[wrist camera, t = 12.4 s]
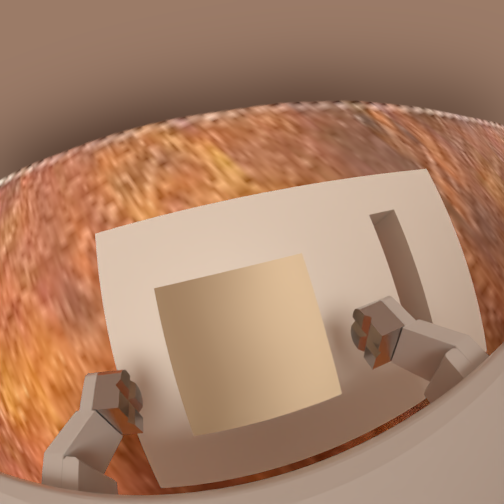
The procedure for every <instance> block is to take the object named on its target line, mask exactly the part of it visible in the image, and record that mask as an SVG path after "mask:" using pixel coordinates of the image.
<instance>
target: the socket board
mask: <svg viewBox="0 0 504 504" xmlns="http://www.w3.org/2000/svg"><path fill="white" fill-rule="evenodd" d="M95 237H96V250H97V261H98V271H99V279H100V287H101V294H102V301H103V307H104V313H105V318H106V324H107V329H108V334H109V339H110V343H111V348H112V352H113V356H114V360H115V364H116V368H117V370H126V371H127V372H128V373H129V375H130V381H132V382H135V383H136V384H137V386H138V387H139V389H140V391H141V395H142V399H143V407H142V409H141V410H140V412H139V413H140V414H141V416H142V417H143V433H139V434H137V435H138V437H139V440H140V442H141V445H142V447H143V450H144V452H145V455H146V457H147V459H148V462H149V464H150V466H151V468H152V470H153V473H154V475H155V477H156V479H157V481H158V483H159V485H160V487H161V488H170V487H182V486H191V485H199V484H206V483H213V482H219V481H224V480H230V479H235V478H240V477H244V476H248V475H253V474H257V473H261V472H265V471H268V470H272V469H275V468H279V467H282V466H285V465H289V464H292V463H295V462H298V461H301V460H304V459H306V458H309V457H312V456H315V455H317V454H320V453H323V452H325V451H328V450H330V449H332V448H335V447H337V446H340V445H342V444H344V443H346V442H349V441H351V440H353V439H355V438H357V437H359V436H361V435H363V434H366V433H368V432H370V431H371V430H373V429H375V428H377V427H379V426H381V425H383V424H385V423H387V422H388V421H390V420H392V419H394V418H395V417H397V416H399V415H401V414H402V413H404V412H406V411H407V410H409V409H410V408H412V407H414V406H415V405H417V404H418V403H420V402H421V401H423V400H424V399H426V397H425V395H424V391H425V389H426V388H427V386H428V384H429V383H430V382H429V381H427V380H425V379H423V378H421V377H419V376H417V375H415V374H413V373H411V372H409V371H407V370H405V369H403V368H401V367H399V366H398V365H396V364H394V363H392V362H391V361H390V362H388V363H386V364H384V365H381V366H379V367H377V368H375V369H373V370H372V368H371V367H370V366H369V364H368V363H367V361H366V360H365V359H364V351H361V350H359V349H357V347H356V346H355V345H354V343H353V340H352V337H351V326H352V324H353V323H354V322H355V320H354V318H353V312H354V310H355V309H356V308H359V307H361V306H364V305H366V304H369V303H371V302H374V301H377V300H379V299H382V298H384V297H386V296H391V297H393V298H394V299H395V300H396V301H397V302H398V303H399V304H400V305H401V306H402V307H403V308H404V309H405V310H406V311H407V312H408V313H409V314H410V315H411V316H412V317H413V318H414V319H415V320H418V319H420V320H423V321H426V322H429V323H432V324H435V325H438V326H442V327H445V328H448V329H451V330H454V331H457V332H460V333H464V334H467V335H469V336H470V337H471V338H472V339H473V340H474V341H475V342H476V343H477V344H478V345H479V346H480V347H481V348H482V349H483V350H484V351H485V352H486V351H487V348H486V341H485V335H484V330H483V324H482V319H481V315H480V310H479V306H478V302H477V298H476V294H475V290H474V286H473V283H472V279H471V276H470V272H469V269H468V266H467V263H466V260H465V257H464V254H463V251H462V248H461V245H460V242H459V240H458V237H457V234H456V232H455V229H454V227H453V224H452V222H451V219H450V217H449V215H448V212H447V210H446V208H445V206H444V203H443V201H442V199H441V197H440V195H439V193H438V190H437V188H436V186H435V184H434V182H433V180H432V178H431V176H430V175H429V173H428V171H427V169H421V170H411V171H402V172H393V173H385V174H377V175H369V176H362V177H354V178H348V179H341V180H334V181H328V182H322V183H315V184H309V185H304V186H298V187H292V188H287V189H281V190H276V191H270V192H265V193H260V194H255V195H250V196H245V197H240V198H235V199H231V200H226V201H221V202H217V203H212V204H208V205H204V206H199V207H195V208H191V209H186V210H182V211H178V212H174V213H170V214H166V215H162V216H158V217H154V218H150V219H147V220H143V221H139V222H135V223H132V224H128V225H124V226H121V227H117V228H114V229H110V230H107V231H103V232H100V233H96V234H95ZM300 253H302V255H303V258H304V261H305V264H306V267H307V270H308V274H309V277H310V280H311V283H312V287H313V290H314V293H315V297H316V300H317V303H318V307H319V310H320V313H321V317H322V320H323V324H324V327H325V331H326V335H327V338H328V342H329V345H330V349H331V353H332V357H333V360H334V364H335V368H336V372H337V376H338V380H339V384H340V388H341V392H342V394H340V395H338V396H335V397H333V398H330V399H328V400H325V401H323V402H320V403H317V404H315V405H312V406H309V407H306V408H303V409H301V410H298V411H295V412H291V413H288V414H285V415H282V416H279V417H275V418H272V419H269V420H265V421H261V422H258V423H254V424H250V425H246V426H242V427H238V428H233V429H229V430H224V431H220V432H215V433H209V434H204V435H198V436H194V435H193V433H192V430H191V427H190V424H189V421H188V418H187V415H186V412H185V409H184V406H183V403H182V400H181V396H180V393H179V390H178V386H177V383H176V379H175V376H174V372H173V369H172V365H171V361H170V358H169V354H168V350H167V346H166V342H165V338H164V333H163V329H162V325H161V320H160V316H159V311H158V306H157V301H156V296H155V291H154V288H158V287H162V286H166V285H171V284H175V283H179V282H184V281H188V280H192V279H197V278H201V277H205V276H209V275H214V274H218V273H222V272H226V271H230V270H235V269H239V268H243V267H247V266H251V265H255V264H260V263H264V262H268V261H272V260H276V259H280V258H284V257H288V256H292V255H296V254H300Z"/></svg>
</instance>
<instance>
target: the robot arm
mask: <svg viewBox="0 0 504 504" xmlns="http://www.w3.org/2000/svg"><path fill="white" fill-rule="evenodd" d="M353 318H354V320H355V322H354V323H353V324H352V326H351V337H352V340H353V343H354V345H355V346H356V347H357V349H359V350H361V351H364V359H365V360H366V361H367V363H368V364H369V366H370V367H371V368H372V370H373V369H375V368H377V367H379V366H381V365H384V364H386V363H388V362H390V361H391V362H392V363H394V364H396V365H398V366H399V367H401V368H403V369H405V370H407V371H409V372H411V373H413V374H415V375H417V376H419V377H421V378H423V379H425V380H427V381H429V382H430V383H429V384H428V386H427V388H426V389H425V391H424V395H425V397H426V398H427V399H428V401H429V402H430V404H429V405H427V406H426V407H425V408H423V409H421V410H420V411H418V412H417V413H415V414H414V415H412V416H411V417H409V418H407V419H406V420H404V421H402V422H401V423H399V424H397V425H396V426H394V427H392V428H390V429H388V430H387V431H385V432H383V433H381V434H379V435H377V436H375V437H373V438H372V439H370V440H368V441H366V442H364V443H361V444H359V445H357V446H355V447H353V448H351V449H349V450H346V451H344V452H342V453H339V454H337V455H335V456H332V457H330V458H327V459H325V460H322V461H320V462H317V463H314V464H312V465H309V466H306V467H303V468H300V469H297V470H294V471H291V472H288V473H284V474H281V475H278V476H274V477H270V478H267V479H263V480H259V481H255V482H250V483H246V484H241V485H236V486H231V487H226V488H220V489H214V490H207V491H199V492H191V493H180V494H165V495H118V489H117V482H116V481H115V480H113V479H112V478H110V477H108V476H106V475H104V473H105V471H106V469H107V467H108V465H109V463H110V461H111V459H112V457H113V455H114V453H115V451H116V449H117V447H118V445H119V443H120V441H121V439H122V437H123V436H122V435H129V434H139V433H143V417H142V416H141V414H140V413H139V412H140V410H141V409H142V407H143V399H142V395H141V391H140V389H139V387H138V386H137V384H136V383H135V382H132V381H130V375H129V373H128V372H127V371H126V370H116V371H107V372H98V373H88V374H87V375H86V376H85V380H84V385H83V391H82V397H81V403H80V410H79V411H76V412H75V413H74V414H73V416H72V417H71V418H70V420H69V421H68V422H67V424H66V425H65V426H64V427H63V429H62V430H61V431H60V433H59V434H58V435H57V437H56V438H55V439H54V441H53V442H52V443H51V445H50V446H49V447H48V449H47V450H46V451H45V453H44V460H43V471H42V484H40V483H36V482H32V481H28V480H25V479H21V478H18V477H14V476H11V475H8V474H5V473H2V472H0V504H504V342H503V343H502V344H501V345H500V346H499V347H498V348H497V349H496V350H495V351H494V352H493V353H492V354H491V355H490V356H489V355H488V354H487V353H486V352H485V351H484V350H483V349H482V348H481V347H480V346H479V345H478V344H477V343H476V342H475V341H474V340H473V339H472V338H471V337H470V336H469V335H467V334H464V333H460V332H457V331H454V330H451V329H448V328H445V327H442V326H438V325H435V324H432V323H429V322H426V321H423V320H420V319H418V320H415V319H414V318H413V317H412V316H411V315H410V314H409V313H408V312H407V311H406V310H405V309H404V308H403V307H402V306H401V305H400V304H399V303H398V302H397V301H396V300H395V299H394V298H393V297H391V296H386V297H384V298H382V299H379V300H377V301H374V302H371V303H369V304H366V305H364V306H361V307H359V308H356V309H355V310H354V312H353Z"/></svg>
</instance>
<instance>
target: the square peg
mask: <svg viewBox="0 0 504 504" xmlns="http://www.w3.org/2000/svg"><path fill="white" fill-rule="evenodd" d="M154 291H155V296H156V301H157V306H158V311H159V316H160V320H161V325H162V329H163V333H164V338H165V342H166V346H167V350H168V354H169V358H170V361H171V365H172V369H173V372H174V376H175V379H176V383H177V386H178V390H179V393H180V396H181V400H182V403H183V406H184V409H185V412H186V415H187V418H188V421H189V424H190V427H191V430H192V433H193V435H194V436H198V435H204V434H209V433H215V432H220V431H224V430H229V429H233V428H238V427H242V426H246V425H250V424H254V423H258V422H261V421H265V420H269V419H272V418H275V417H279V416H282V415H285V414H288V413H291V412H295V411H298V410H301V409H303V408H306V407H309V406H312V405H315V404H317V403H320V402H323V401H325V400H328V399H330V398H333V397H335V396H338V395H340V394H342V392H341V388H340V384H339V380H338V376H337V372H336V368H335V364H334V360H333V357H332V353H331V349H330V345H329V342H328V338H327V335H326V331H325V327H324V324H323V320H322V317H321V313H320V310H319V307H318V303H317V300H316V297H315V293H314V290H313V287H312V283H311V280H310V277H309V274H308V270H307V267H306V264H305V261H304V258H303V255H302V253H300V254H296V255H292V256H288V257H284V258H280V259H276V260H272V261H268V262H264V263H260V264H255V265H251V266H247V267H243V268H239V269H235V270H230V271H226V272H222V273H218V274H214V275H209V276H205V277H201V278H197V279H192V280H188V281H184V282H179V283H175V284H171V285H166V286H162V287H158V288H154Z"/></svg>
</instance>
